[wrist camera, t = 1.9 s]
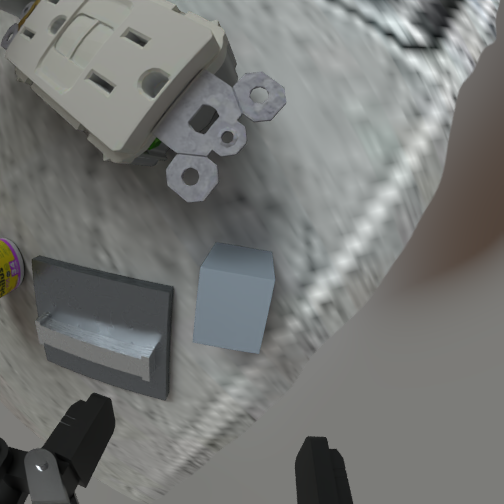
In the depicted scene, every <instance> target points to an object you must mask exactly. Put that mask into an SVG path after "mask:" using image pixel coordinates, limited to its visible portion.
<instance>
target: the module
mask: <svg viewBox="0 0 504 504" xmlns="http://www.w3.org/2000/svg"><path fill="white" fill-rule="evenodd" d="M274 283H275V274H274V265H273V256H272V252H270V251H264V250H259V249H253V248H247V247H241V246H235V245H230V244H224V243H218V242H216V243H215V245H214V246H213V248H212V249H211V251H210V253H209V254H208V256H207V257H206V259H205V261H204V262H203V264H202V266H201V267H200V275H199V284H198V293H197V302H196V312H195V322H194V333H193V342H194V343H199V344H204V345H209V346H215V347H220V348H226V349H231V350H237V351H243V352H250V353H256V354H259V352H260V347H261V343H262V339H263V334H264V330H265V325H266V321H267V316H268V311H269V307H270V302H271V298H272V293H273V288H274Z"/></svg>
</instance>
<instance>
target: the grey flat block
mask: <svg viewBox="0 0 504 504" xmlns="http://www.w3.org/2000/svg"><path fill="white" fill-rule="evenodd" d="M32 270H33V280H34V289H35V297H36V304H37V311H38V318H37V319H36V320H35V324H36V329H37V334H38V339H39V343H40V344H42V345H44V348H45V352H46V356H47V360H48V361H50V362H53V363H55V364H57V365H60V366H62V367H64V368H67V369H69V370H72V371H74V372H77V373H80V374H82V375H85V376H88V377H90V378H93V379H96V380H99V381H102V382H104V383H107V384H110V385H113V386H116V387H120V388H123V389H126V390H129V391H133V392H136V393H140V394H143V395H147V396H150V397H154V398H158V399H162V400H166V399H167V396H168V394H169V362H170V335H171V315H172V300H173V286H168V285H163V284H158V283H153V282H148V281H144V280H139V279H134V278H130V277H125V276H121V275H116V274H112V273H108V272H103V271H99V270H95V269H91V268H87V267H82V266H78V265H74V264H70V263H66V262H62V261H59V260H55V259H51V258H47V257H43V256H40V255H39V256H37V257H35V258H33V259H32Z"/></svg>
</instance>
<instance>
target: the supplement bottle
mask: <svg viewBox="0 0 504 504" xmlns="http://www.w3.org/2000/svg"><path fill="white" fill-rule="evenodd" d="M23 277H24V264H23V260H22V257H21V254H20V252H19V250H18V248H17V247H16V245H15V244H14V243H13V242H12V241H10V240H9V239H6V238H0V298H1V297H2V296H4V295H6V294H7V293H9V292H11V291H12V290H14V289H16V288H17V287H19V286H20V284H21V283H22V280H23Z"/></svg>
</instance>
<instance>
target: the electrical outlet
mask: <svg viewBox="0 0 504 504" xmlns="http://www.w3.org/2000/svg"><path fill="white" fill-rule="evenodd" d="M27 9H28V10H27ZM26 10H27V11H26ZM19 19H21V21H20V22H19V24H17V23H15V24H14V25H12V26H11V27H10V28H9V29H8V31H7V32H6V34H5V36H4V37H3V39H2V43H1V46H2V47H3V48H4V49H6V52H5V57H6V58H7V59H8V60H9V61H10V62H11V63H13V64H14V65H15V66H16V68H15V74H16V75H17V81H21V82H24V83H28V84H31V85H32V86H31V89H32V90H33V91H34V92H35V93H36V94H38V95H39V96H40V97H41V98H42V99H43V100H44V101H45V102H46V103H47V104H48V105H50V106H51V107H52V108H53V109H54V110H55V111H56V112H57V113H58V114H59V115H61V116H62V117H63V118H64V119H65V120H66V121H67V122H68V123H69V124H71V125H72V126H73V127H74V128H75V129H76V130H80V131H84V132H85V133H86V134H88V135H89V136H88V138H87V140H89V141H90V142H91V143H92V144H93V145H94V146H95V147H96V148H98V149H99V150H100V151H101V152H102V153H103V160H104V161H111V162H114V163H120V164H133V165H145V166H154V165H155V164H156V163H157V161H158V160H164V161H165V160H166V159H167V157H166V155H165V154H166V151H167V150H168V148H171V149H172V150H173V151H175V152H176V153H177V155H176V156H175V158H174V159H173V160H172V162H171V163H170V164H169V166H168V167H167V168H166V177H167V186H169V187H170V188H171V189H172V190H173V191H175V192H176V193H177V194H178V195H179V196H181V197H182V198H183V199H184V200H185V201H187V202H196V201H204V200H205V199H206V198H207V197H208V195H209V194H210V193H211V192H212V190H213V189H214V188H215V187H216V185H217V184H218V183H219V176H218V166H217V165H216V164H215V163H214V162H212V161H211V160H210V159H209V158H207V156H208V155H209V154H210V153H211V152H212V150H213V151H215V152H216V153H217V154H219V155H220V156H221V157H222V156H230V155H236V154H238V153H239V151H240V150H241V149H242V148H243V147H244V146H245V144H246V142H247V136H246V127H245V126H243V125H242V124H241V123H240V122H238V121H237V120H238V119H239V118H240V117H241V116H242V115H243V114H244V115H245V116H246V117H248V118H249V119H250V120H252V121H253V122H261V121H271V120H272V119H273V118H274V117H275V115H276V114H277V113H278V112H279V111H280V110H281V109H282V108H283V107H284V106H285V104H286V97H285V89H284V87H283V86H282V85H280V84H279V83H277V82H276V81H275V80H273V79H272V78H270V77H269V76H268V75H266V74H265V73H263V72H254V73H245V74H244V75H243V76H242V77H241V79H240V80H239V81H238V75H237V73H236V70H235V67H236V65H237V63H236V60H235V57H234V54H233V52H232V49H231V46H230V44H229V41H228V39H227V36H226V34H225V31H224V29H223V28H221V26H220V24H219V21H218V20H214V21H211V22H210V21H208V20H206V19H204V18H202V17H200V16H198V15H196V14H194V13H192V12H190V11H189V12H188V13H187V14H185V13H183V12H181V11H180V10H179V9H178V7H177V6H176V5H175V4H173V3H170V2H168V1H166V0H36V1H35V2H33V1H32V2H30V3H29V4H28V5H26V6H25V8H24V9H23V11H22V12H21V14H20V18H19ZM12 33H13V36H12V38H11V39H10V40H9V41H8V39H9V37H10V35H11V34H12ZM237 81H238V82H237ZM259 87H261V88H263V89H266V90H267V92H268V99H267V100H265V101H264V102H263V103H256V102H253V100H252V99H251V98H250V93H251V92H252V90H253V89H255V88H259ZM216 111H217V112H218V114H219V118H218V119H217V120H216V121H215V122H214V124H213V125H212V126H211V127H210V129H209V130H208V131H207V132H206V133H205V135H204V134H201V133H198V132H199V131H201V130H203V129H204V128H205V127H206V126H207V125H208V124H209V122H210V121H211V119H212V117H213V115H214V113H215V112H216ZM228 131H229V132H231V133H232V134H233V135H234V136H233V140H232V141H231V142H230V143H224V142H223V141H222V136H223V134H224V133H225V132H228ZM188 168H194V169H196V170H197V171H198V174H199V180H198V182H197V184H195V185H192V186H189V185H187V184H186V183H185V182H184V181H183V173H184V172H185V171H186V170H187V169H188Z"/></svg>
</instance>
